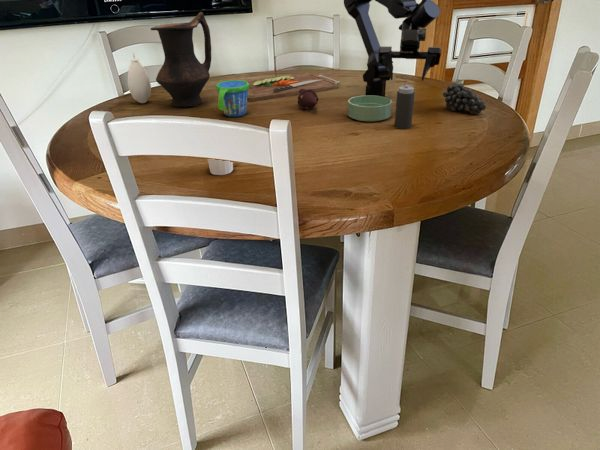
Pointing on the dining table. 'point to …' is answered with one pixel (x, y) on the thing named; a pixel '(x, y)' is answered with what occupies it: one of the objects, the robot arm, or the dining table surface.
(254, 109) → the dining table surface
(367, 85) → the robot arm
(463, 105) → the fruit
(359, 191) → the dining table surface
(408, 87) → the pepper mill
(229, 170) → the shot glass
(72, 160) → the dining table surface
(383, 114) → the bowl
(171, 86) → the jug
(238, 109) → the snack cup
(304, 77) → the chopping board
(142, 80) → the teardrop candle
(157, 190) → the dining table surface
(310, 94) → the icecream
